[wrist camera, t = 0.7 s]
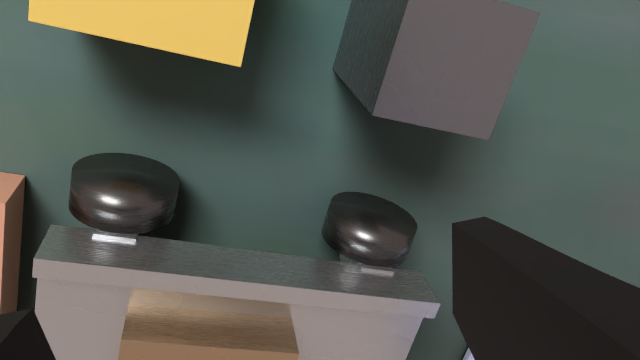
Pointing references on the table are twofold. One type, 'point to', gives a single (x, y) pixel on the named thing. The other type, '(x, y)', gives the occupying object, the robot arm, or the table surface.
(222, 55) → the chock
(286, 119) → the table surface
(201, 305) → the trolley
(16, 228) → the tray
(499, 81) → the grey matte cube
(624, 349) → the robot arm
